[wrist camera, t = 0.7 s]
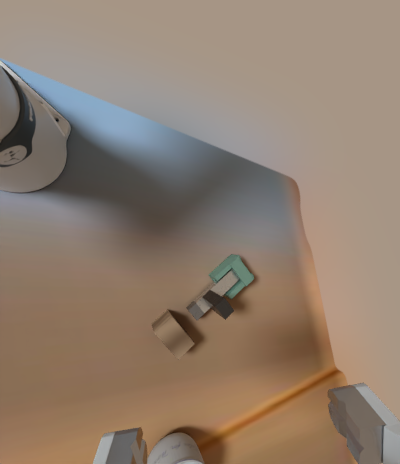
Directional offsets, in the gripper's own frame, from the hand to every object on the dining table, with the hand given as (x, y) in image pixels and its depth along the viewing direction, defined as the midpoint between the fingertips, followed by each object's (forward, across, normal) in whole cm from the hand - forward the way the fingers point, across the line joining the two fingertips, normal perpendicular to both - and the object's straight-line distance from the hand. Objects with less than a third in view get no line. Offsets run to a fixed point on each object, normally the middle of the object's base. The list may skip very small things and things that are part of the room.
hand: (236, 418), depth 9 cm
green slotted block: (+38, -5, +11) cm, 39 cm away
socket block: (+32, +9, +17) cm, 37 cm away
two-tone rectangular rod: (+35, -2, +12) cm, 37 cm away
